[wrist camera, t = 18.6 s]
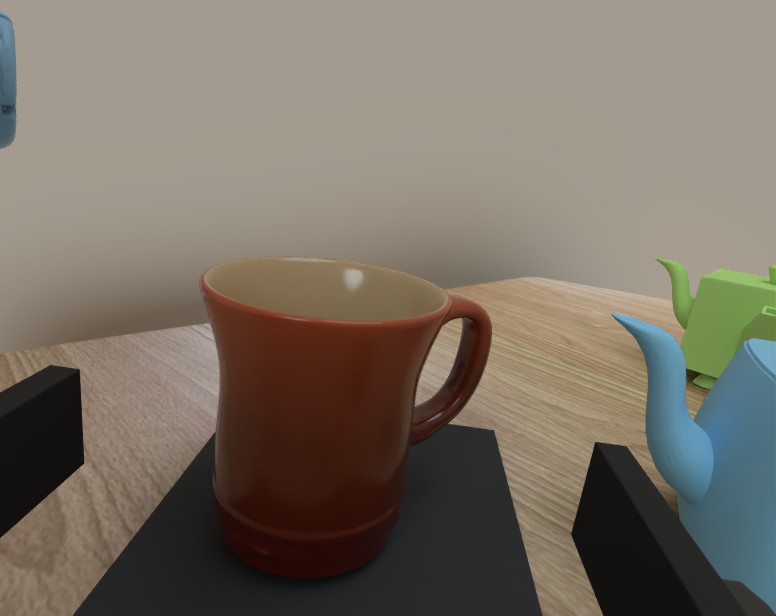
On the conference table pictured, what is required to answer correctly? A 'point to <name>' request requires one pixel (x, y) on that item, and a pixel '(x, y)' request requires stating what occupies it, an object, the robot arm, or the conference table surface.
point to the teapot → (718, 454)
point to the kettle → (721, 316)
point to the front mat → (359, 586)
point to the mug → (325, 403)
